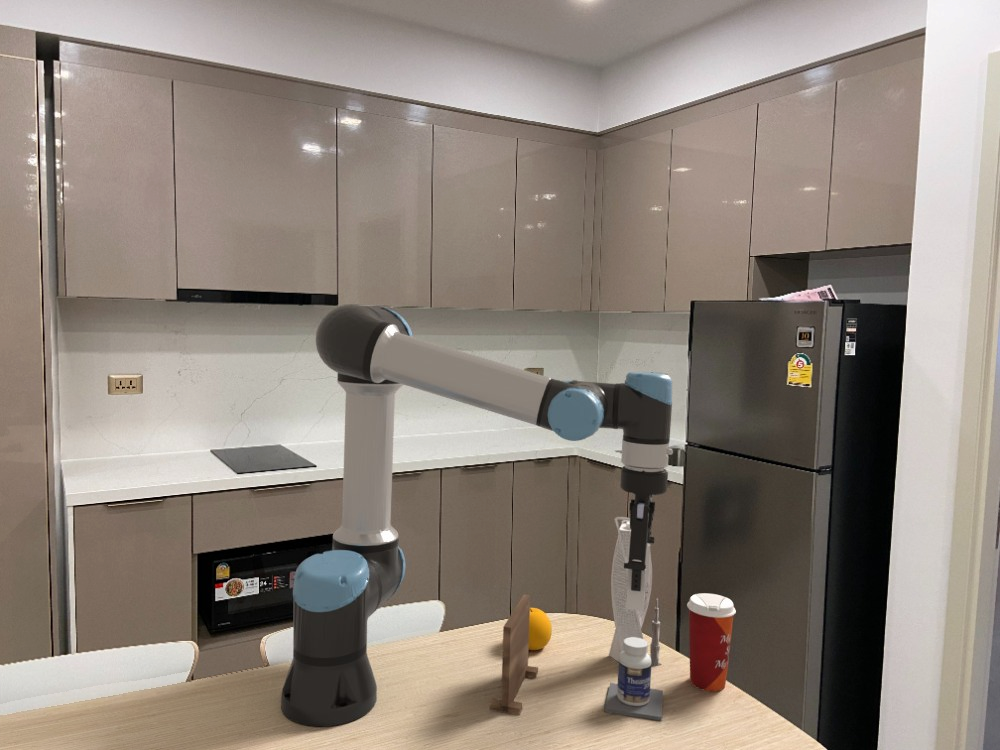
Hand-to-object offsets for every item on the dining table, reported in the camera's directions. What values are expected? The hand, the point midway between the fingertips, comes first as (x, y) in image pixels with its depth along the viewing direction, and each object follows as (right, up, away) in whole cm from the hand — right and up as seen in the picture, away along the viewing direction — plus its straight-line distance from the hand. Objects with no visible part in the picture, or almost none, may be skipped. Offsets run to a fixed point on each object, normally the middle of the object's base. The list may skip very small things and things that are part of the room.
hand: (637, 594), depth 121 cm
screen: (-20, -18, +4) cm, 27 cm away
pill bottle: (-1, -18, +1) cm, 18 cm away
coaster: (0, -18, +1) cm, 18 cm away
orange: (-17, -17, +22) cm, 32 cm away
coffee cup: (+14, -19, +9) cm, 25 cm away
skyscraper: (+2, -18, +17) cm, 25 cm away
